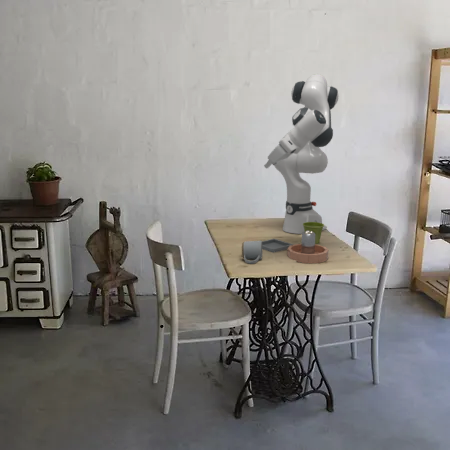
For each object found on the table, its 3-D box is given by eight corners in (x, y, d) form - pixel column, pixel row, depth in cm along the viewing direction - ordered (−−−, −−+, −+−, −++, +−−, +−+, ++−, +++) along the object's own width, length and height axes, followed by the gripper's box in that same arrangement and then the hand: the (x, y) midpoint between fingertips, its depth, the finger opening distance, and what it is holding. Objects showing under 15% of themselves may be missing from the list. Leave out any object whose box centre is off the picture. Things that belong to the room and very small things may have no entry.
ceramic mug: (242, 255, 236) (242, 238, 234) (262, 256, 235) (262, 238, 233) (240, 264, 225) (241, 245, 223) (261, 265, 225) (262, 246, 223)
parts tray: (274, 242, 255) (274, 238, 254) (293, 248, 246) (293, 244, 245) (253, 247, 247) (254, 243, 247) (273, 254, 238) (273, 249, 238)
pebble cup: (307, 252, 238) (308, 228, 235) (317, 255, 234) (318, 231, 231) (298, 254, 234) (299, 230, 232) (308, 257, 230) (309, 233, 228)
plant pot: (323, 241, 258) (324, 222, 256) (322, 246, 249) (323, 227, 247) (302, 239, 260) (303, 221, 257) (301, 245, 251) (301, 226, 249)
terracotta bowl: (306, 249, 245) (307, 241, 244) (335, 258, 233) (336, 250, 232) (279, 256, 235) (280, 248, 234) (308, 265, 223) (308, 257, 222)
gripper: (294, 135, 244) (272, 157, 250) (279, 139, 225) (256, 163, 232) (304, 146, 243) (281, 167, 249) (290, 151, 225) (266, 174, 231)
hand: (269, 165), depth 240 cm, fingers open, 8 cm apart
